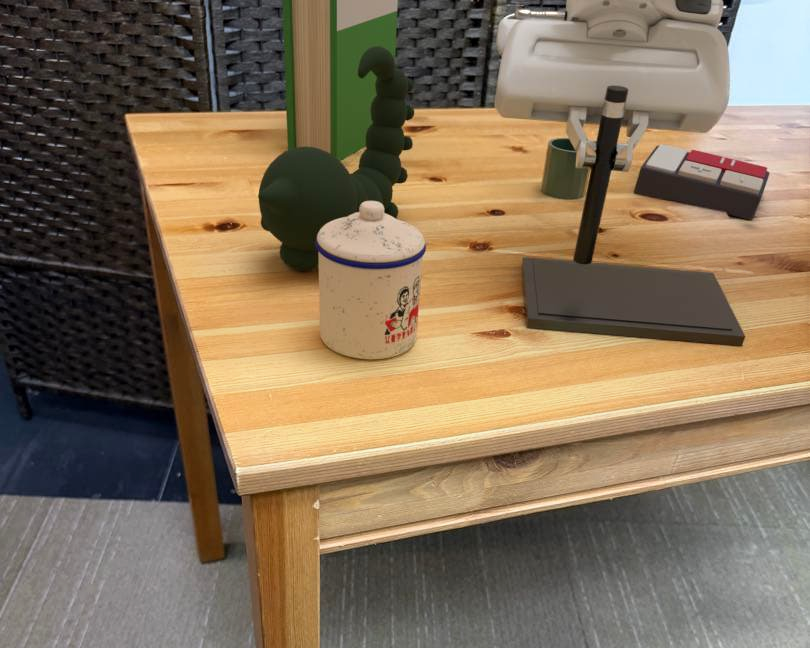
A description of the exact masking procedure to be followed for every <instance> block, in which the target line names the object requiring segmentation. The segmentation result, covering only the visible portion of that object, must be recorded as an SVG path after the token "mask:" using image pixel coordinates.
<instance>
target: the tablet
mask: <svg viewBox="0 0 810 648" xmlns="http://www.w3.org/2000/svg"><path fill="white" fill-rule="evenodd" d="M715 275H716V274H715V273H714V272H710V271H709V272H707V271H696V270H695V271H694V270H684V269H672V268H660V267H647V266H639V265H638V266H637V265H624V264H612V263H603V262H602V263H601V262H600V263H599V262H591V263H590V264H579V263H576V262H575V261H574V260H566V259H565V260H564V259H552V258H539V257H530V256H529V257H528V256H522V259H521V277H522V291H523V302H524V314H525V316H524V317H525V326H526V328H528V329H529V328H530V329H538V330H551V331H561V332H562V331H563V332H574V333H586V334H597V335H607V336H608V335H609V336H620V337H622V336H623V337H633V338H643V339H644V338H645V339H657V340H668V341H680V342H691V343H704V344H715V345H724V346H725V345H726V346H739V347H742V346H743V344H744V341H745V338H746V335H745V332H744V331H743V329H742V327H741V324H740V323H739V321H738V318H737V317H736V315H735V313H734V310H733V309H732V307H731V304H730V303H729V301H728V299H727V297H726V295H725V293H724V291H723V288H722V287H721V285H720V283H719V281H718V279H717V277H716V276H715Z"/></svg>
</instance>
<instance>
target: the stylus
mask: <svg viewBox="0 0 810 648" xmlns="http://www.w3.org/2000/svg"><path fill="white" fill-rule="evenodd" d="M627 95H628V88H626V87H623V86H615V85H613V86H608V87H607V90H606V95H605V99H604V104H603V109H602V115H601V120H600V125H598V131H597V136H596V141H597V149H596V160H595V164H594V165H593V168H592V169H590V174H589V179H588V184H587V189H586V194H585V196H584V202H583V207H582V213H581V217H580V222H579V228H578V233H577V236H576V237H577V239H576V243H575V249H574V253H573V257H572V258H573V260H572V261H575V262H576V263H579V264H590V263H593V259H594V255H595V249H596V244H597V240H598V235H599V231H600V226H601V222H602V217H603V211H604V208H605V203H606V198H607V194H608V190H609V189H608V188H609V183H610V179H611V175H612V171H611V170H612V165H613V161H614V156H615V151H616V146H617V143H619V136H620V132H621V128H622V127H621V123H622V118H623V115H624V110H625V105H626V100H627Z"/></svg>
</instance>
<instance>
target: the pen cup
mask: <svg viewBox="0 0 810 648" xmlns="http://www.w3.org/2000/svg"><path fill="white" fill-rule="evenodd" d="M576 155H577V151H576V150H575V149H574V147H573V145H572V143H571V141H570V139H569V137H557V138H551V139H550V140H548V142H547V146H546V152H545V157H544V165H543V169H542V170H543V171H542V176H541V177H542V178H541V182H540V183H541V184H540V191H541V193H543V194H544V195H545V196H548V197H550V198H554V199H558V200H565V201H566V200H569V201H571V200H580V199H582V198H585V197H586V192H587V187H588V181H589V176H590V171H591V169H583V168H576Z"/></svg>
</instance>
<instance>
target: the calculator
mask: <svg viewBox="0 0 810 648" xmlns="http://www.w3.org/2000/svg"><path fill="white" fill-rule="evenodd" d="M770 173H771V172H770V171H768V167H767V166H763V165H759V164H755V163H751V162H746V161H743V160H738V159H734V158H731V157H725V156H721V155H717V154H714V153H713V154H712V153H710V152H709V153H708V152H705V151H701V150H696V149H691V150H690V152H689V151H688V150H687V149H685V148H680V147H676V146H672V145H667V144H665V143H664V144H663V143H661V144H658V145H656V146H655V147H654V149H653V150H652V152H650V154H649V156H648V157H647V158H646V160H645V161H644V162H643V163H642V165H641V166H640V169H639V173H638V176H637V179H636V182H635V186H634V190H633V194H634V195H636V196H642V197H646V198H647V197H648V198H653V199H657V200H663V201H673V202H677V203H681V204H685V205H689V206H693V207H698V208H703V209H708V210H713V211H719V212H725V213H726V215H728V216H733V217H737V218H739V219H744V220H748V221H752V220H754V218H755V216H756V213H757V210H758V208H759V205H760V203H761V201H762V197H763V194H764V191H765V189H766V187H767V183H768V180H769V177H770V175H771V174H770Z"/></svg>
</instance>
